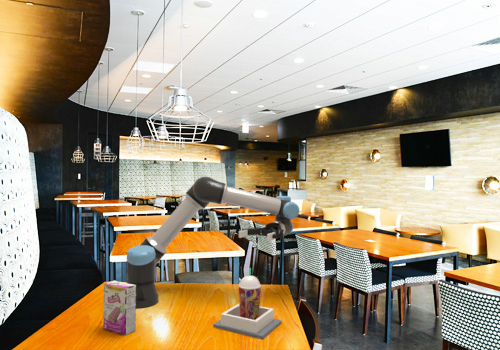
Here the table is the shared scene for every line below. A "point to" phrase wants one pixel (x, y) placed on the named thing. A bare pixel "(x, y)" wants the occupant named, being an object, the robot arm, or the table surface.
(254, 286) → the smoothie
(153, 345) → the table surface
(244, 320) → the board
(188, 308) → the table surface
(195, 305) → the table surface
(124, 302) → the candy bar box
